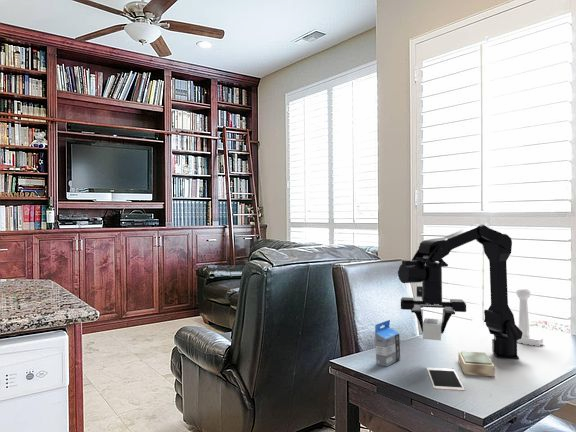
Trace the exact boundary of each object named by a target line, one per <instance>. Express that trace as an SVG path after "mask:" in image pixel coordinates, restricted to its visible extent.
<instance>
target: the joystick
mask: <svg viewBox="0 0 576 432" xmlns="http://www.w3.org/2000/svg"><path fill="white" fill-rule="evenodd" d="M515 293H516V296H517V298H519V307H518V308H519V311H518V326H517V327H518V328H519V329H520V330H521V331H522V333H523V334H522V338H521V339H518V340H517V344H521V343H523V344H522V345H527V344H529V345H528V346H533V345H535V347H541V346H542V344H544V339H543V338H544V337H539V336H535V334H533V333H530V321H529V320H530V319H529V309H528V299H529V298H530V296H531V291H530V289H529V288H528V287H526V286H520V287H518V288H517V289H516V292H515ZM540 345H541V346H540Z"/></svg>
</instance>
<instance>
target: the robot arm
mask: <svg viewBox="0 0 576 432" xmlns="http://www.w3.org/2000/svg"><path fill="white" fill-rule="evenodd" d="M473 241H476V242H478V243H479V244H480V245H482V247H483V252H484V255H486V257H487V259H488V261H489V285H490V288H489V289H490V305H489V307H488V309H484V310H483V311H484V312H483V314H484V320H483V322H485V326H486V327H487V328H488V331H489V334H490V335H493V338H492V339H491V345H492V346H491V351H492V353H493V354H494V355H495V357H496V358H501V359H502V358H503V359H504V358H505V359H517V360H518V359H520V357H519V355H518V343H517V340H518V339H521V338H522V334H523V333H522V331H521V330H520V329H519V328H518V327H519V326H517V324H516V321H515V316H514V313H513V312H512V310H511V308H510V307H509V299H508V296H509V295H508V274H507V273H508V269H507V262H508V259H509V257H510V256H511V253H512V246H513V245H512V244H513V241H512V237H510V236H509V235H508V234H507V233H502V232H500V231H498V230H494V229H493V228H490V227H488V226H486V225H485V224H472V225H469V226H468V227H466V228H464V229H460V230H458V231H456V232H453V233H451V234H448V235H446V236H444V237H440V238H431V239H425V240H423V241H421V242H420V243H419V246H418V249H417V251H416V252H415V254H414V255H413V257H412V259H411V260H407V259H404V260H402V259H401V264H400V265H399V268H398V270H397V275H398V279H399V281H400V283H402V284H413V283H414V284H415V283H421V284H422V285H421V286H416V297H417V298H421V300H414V297H404V296H403V297H401V298H400V309H401V310H404V311H405V310H409V311H410V312H411V313H413V314H414V315H415V317H416V318H417V321H418V324H419V326H420V327H419V328H420V329H421V333H423V322H424V319H423V312H422V309H421V308H433V309H434V308H438V309H439V308H440V309H441V308H442V318H441V319H442V326H441V333H442V335H443V334H444V332H445V331H446V330H445V329H446V327H447V324H448V322H449V320H450V319H451V316H452V315H456V313H459V312H460V313H461V312H462V313H466V312H467V303H466V302H465V301H464V300H463V299H459V298H458V299H457V298H450V299H449V301H443V273H442V271H443V269H442V268H445V267H448V266H449V264H448V263H447V262H446V261H444V259H443V258H445V257H446V256H448V255H449V254H450V253H451V251H452V250H454V249H456V248H459V247H461V246H464V245H465V244H466V245H467V244H468V243H471V242H473Z"/></svg>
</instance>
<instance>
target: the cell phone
mask: <svg viewBox="0 0 576 432" xmlns="http://www.w3.org/2000/svg"><path fill="white" fill-rule="evenodd" d="M426 370H427V374H428V377H429V379H430V382H431V385H432V387H433V389H434V390H446V391H447V390H448V391H459V392H460V391H466V389H465V387H464V385H463V383H462V381H461V379H460V378H459V376H458V374H457V372H456V371H455V370H456V369H454V368H445V367H444V368H443V367H441V368H440V367H426Z"/></svg>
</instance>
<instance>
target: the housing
mask: <svg viewBox="0 0 576 432" xmlns="http://www.w3.org/2000/svg"><path fill="white" fill-rule="evenodd" d="M441 326H442V318H429V317H424V319H423V332H422V340H431V341H442V340H441V339H442V336H443V334H442V333H441Z"/></svg>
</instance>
